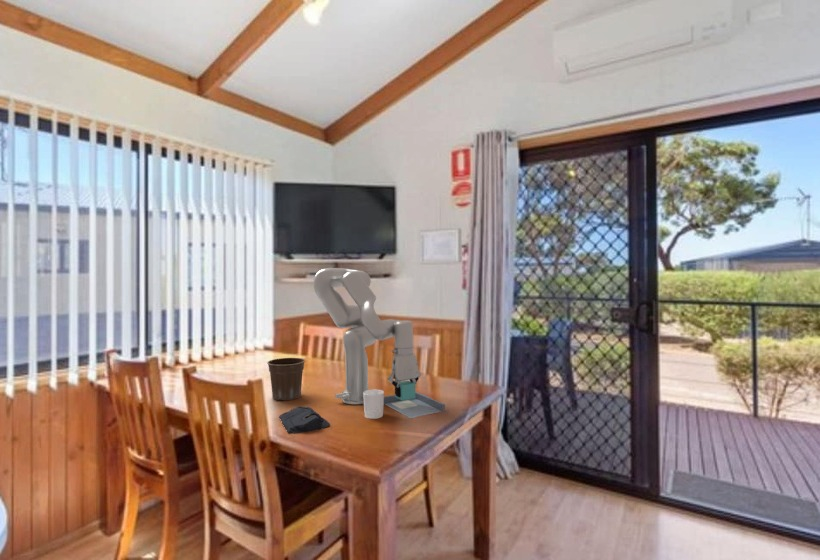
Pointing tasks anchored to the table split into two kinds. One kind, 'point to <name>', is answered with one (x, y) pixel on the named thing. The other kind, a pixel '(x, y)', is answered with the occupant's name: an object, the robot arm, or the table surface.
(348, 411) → the table surface
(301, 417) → the dark slate chunk
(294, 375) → the plant pot
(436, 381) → the table surface
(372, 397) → the white cup
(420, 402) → the tray
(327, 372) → the table surface
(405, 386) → the teal cube
